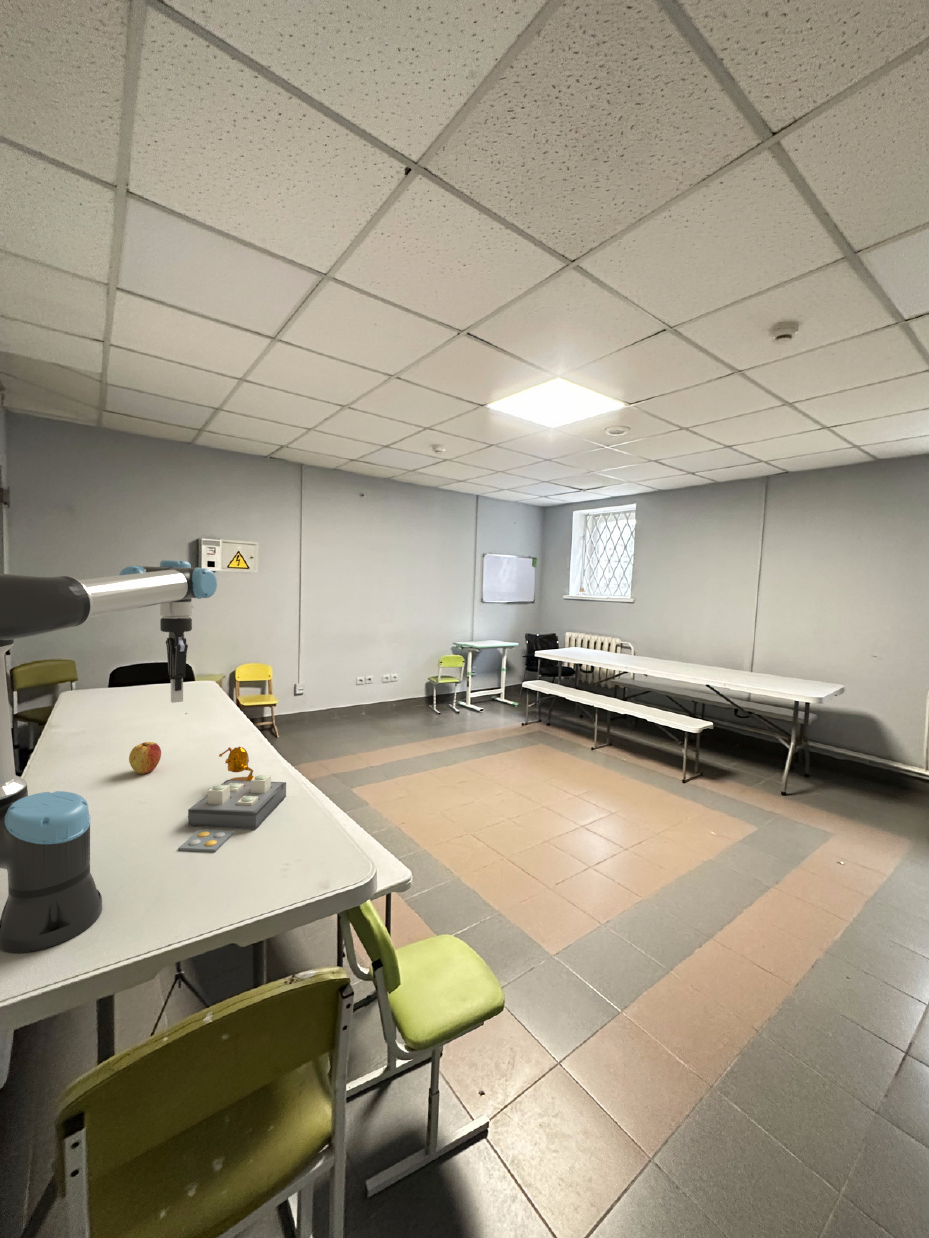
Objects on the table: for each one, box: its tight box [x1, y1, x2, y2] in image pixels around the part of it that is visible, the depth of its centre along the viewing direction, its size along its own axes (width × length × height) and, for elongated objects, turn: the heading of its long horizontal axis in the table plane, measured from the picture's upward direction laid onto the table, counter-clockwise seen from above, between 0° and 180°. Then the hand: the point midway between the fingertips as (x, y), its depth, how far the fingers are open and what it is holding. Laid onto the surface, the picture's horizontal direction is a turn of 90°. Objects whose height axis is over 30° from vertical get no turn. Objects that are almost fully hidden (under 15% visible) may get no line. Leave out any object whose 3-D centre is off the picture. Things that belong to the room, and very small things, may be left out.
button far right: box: [251, 774, 272, 794], centre depth 143 cm, size 4×4×4 cm
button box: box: [187, 779, 287, 830], centre depth 140 cm, size 20×18×4 cm
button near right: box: [237, 796, 258, 806], centre depth 136 cm, size 4×4×4 cm
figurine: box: [218, 746, 255, 781], centre depth 158 cm, size 8×11×12 cm
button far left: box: [229, 783, 244, 792], centre depth 144 cm, size 4×4×4 cm
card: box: [177, 828, 235, 853], centre depth 123 cm, size 9×9×1 cm
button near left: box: [207, 784, 230, 805], centre depth 136 cm, size 4×4×4 cm
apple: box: [128, 741, 162, 775], centre depth 165 cm, size 9×9×10 cm
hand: (176, 701), depth 139 cm, fingers closed
